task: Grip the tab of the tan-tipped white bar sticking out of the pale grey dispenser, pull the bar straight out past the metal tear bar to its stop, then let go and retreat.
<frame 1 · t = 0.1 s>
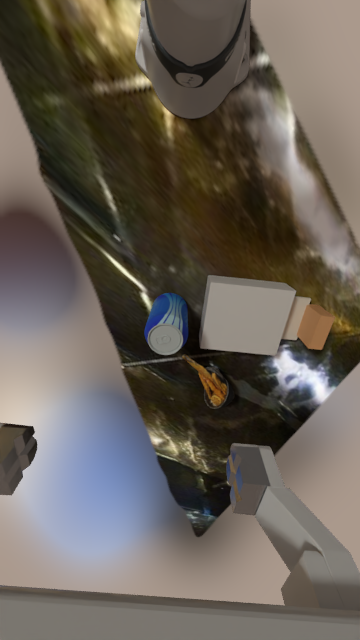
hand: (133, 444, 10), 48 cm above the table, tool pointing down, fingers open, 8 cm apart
beer can: (170, 307, 59), on the table
dispenser: (239, 310, 59), on the table
tan-tipped white bar: (271, 321, 55), point 5 cm above the table, slide at 0.0 cm
fried food: (207, 371, 67), on the table
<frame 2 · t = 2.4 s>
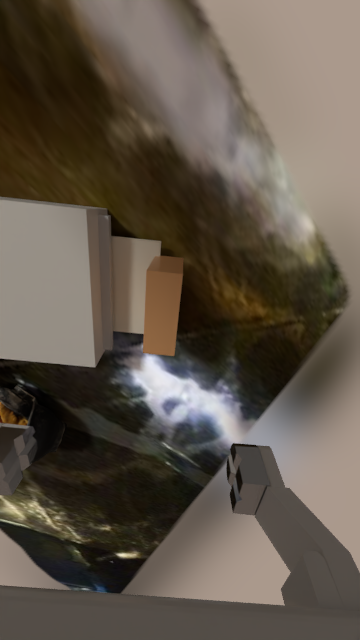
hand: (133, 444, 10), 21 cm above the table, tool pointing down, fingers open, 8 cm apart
dispenser: (32, 274, 29), on the table
tan-tipped white bar: (68, 292, 24), point 5 cm above the table, slide at 0.0 cm
fried food: (20, 393, 37), on the table
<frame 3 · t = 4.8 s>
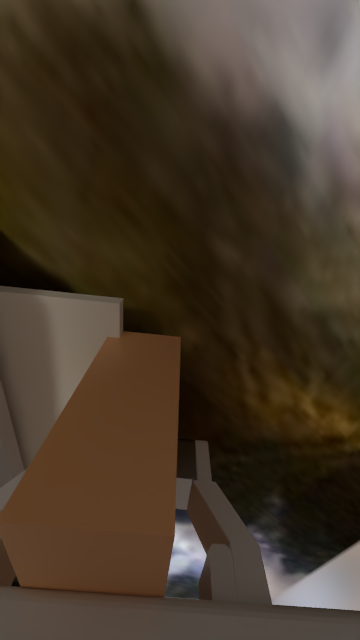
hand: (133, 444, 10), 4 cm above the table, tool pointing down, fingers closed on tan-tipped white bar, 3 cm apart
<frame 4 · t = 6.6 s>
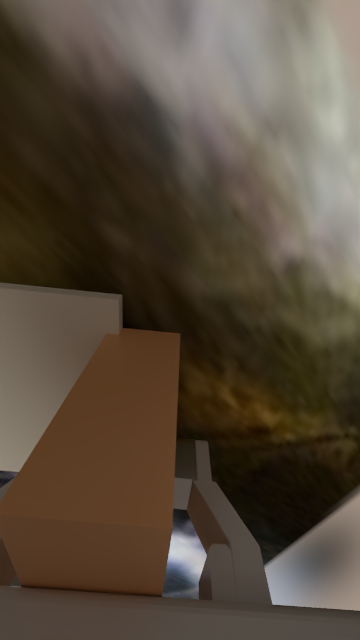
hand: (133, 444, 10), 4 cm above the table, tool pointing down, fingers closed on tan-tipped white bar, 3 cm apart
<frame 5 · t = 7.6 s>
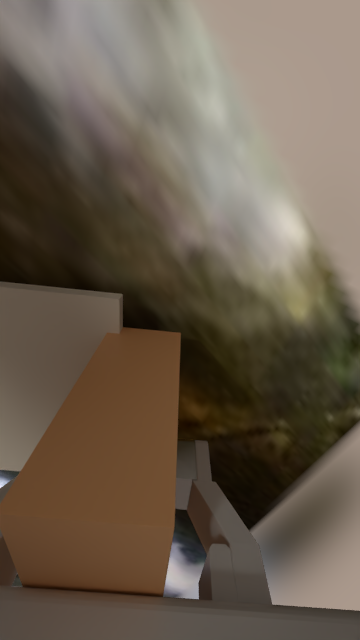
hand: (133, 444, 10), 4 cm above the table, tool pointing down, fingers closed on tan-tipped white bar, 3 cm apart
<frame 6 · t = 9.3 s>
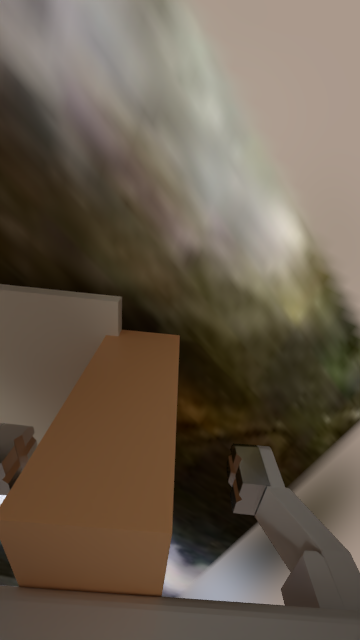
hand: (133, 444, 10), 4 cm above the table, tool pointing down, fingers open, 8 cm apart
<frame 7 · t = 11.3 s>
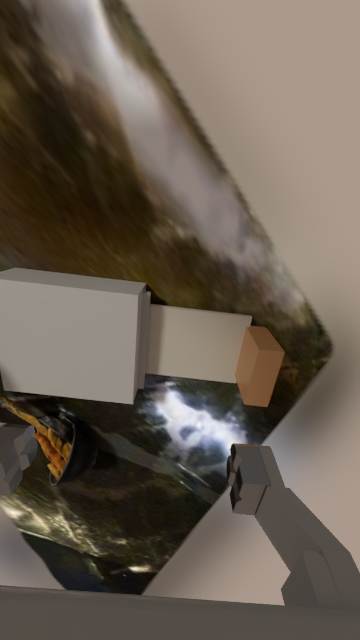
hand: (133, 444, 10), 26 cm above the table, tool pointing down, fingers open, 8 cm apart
dispenser: (83, 328, 36), on the table
tan-tipped white bar: (183, 355, 32), point 5 cm above the table, slide at 9.0 cm
fried food: (60, 419, 44), on the table
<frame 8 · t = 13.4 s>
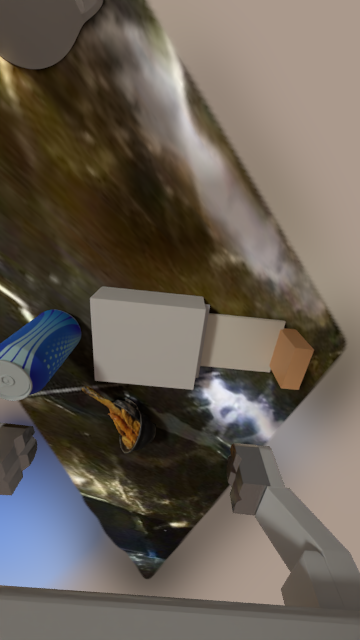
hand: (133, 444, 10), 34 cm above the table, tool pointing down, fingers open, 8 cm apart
beer can: (62, 326, 46), on the table
dispenser: (150, 331, 46), on the table
tan-tipped white bar: (233, 352, 42), point 5 cm above the table, slide at 9.0 cm
fried food: (124, 403, 54), on the table
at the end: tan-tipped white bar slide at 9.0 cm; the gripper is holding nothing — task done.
